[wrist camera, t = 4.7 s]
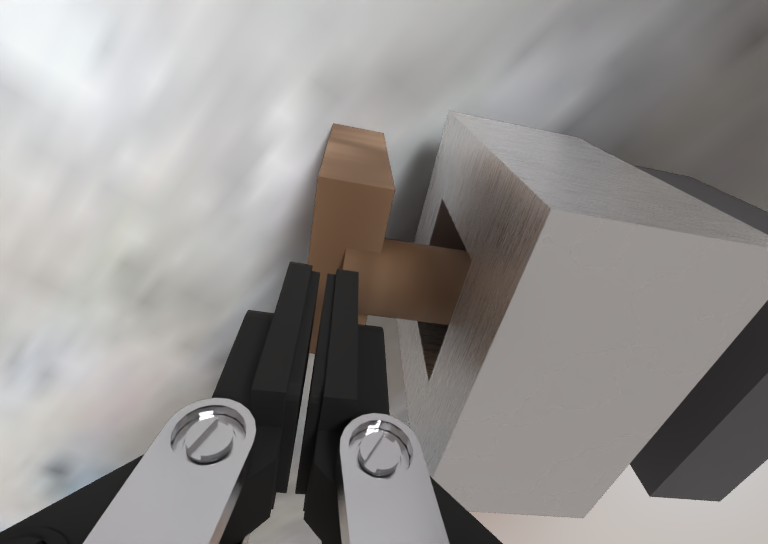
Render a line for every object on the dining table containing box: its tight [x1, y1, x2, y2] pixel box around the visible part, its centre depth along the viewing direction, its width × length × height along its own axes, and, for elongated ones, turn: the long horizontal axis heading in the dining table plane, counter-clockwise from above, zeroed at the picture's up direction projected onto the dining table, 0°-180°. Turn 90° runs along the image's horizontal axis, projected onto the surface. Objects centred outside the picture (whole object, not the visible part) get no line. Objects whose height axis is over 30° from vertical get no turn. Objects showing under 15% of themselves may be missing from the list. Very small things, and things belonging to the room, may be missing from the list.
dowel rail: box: [308, 124, 472, 354], centre depth 16 cm, size 29×6×7 cm, turn 79°
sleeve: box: [397, 111, 768, 518], centre depth 13 cm, size 5×9×9 cm, turn 169°
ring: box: [630, 165, 768, 501], centre depth 14 cm, size 2×8×8 cm, turn 169°
